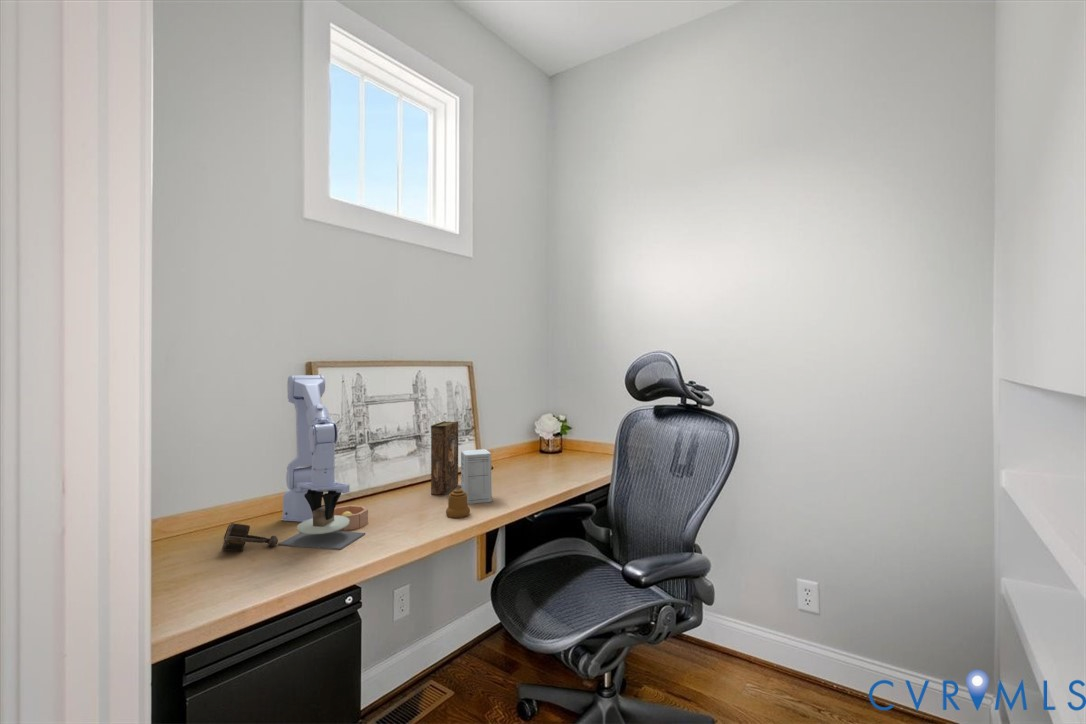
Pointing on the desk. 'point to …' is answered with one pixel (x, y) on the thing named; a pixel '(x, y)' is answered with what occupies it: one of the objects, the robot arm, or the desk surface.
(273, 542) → the dark brown handled piece
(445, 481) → the book
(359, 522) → the bowl
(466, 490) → the grey cabinet
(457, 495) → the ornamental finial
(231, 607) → the desk surface
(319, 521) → the lid
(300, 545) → the mat
